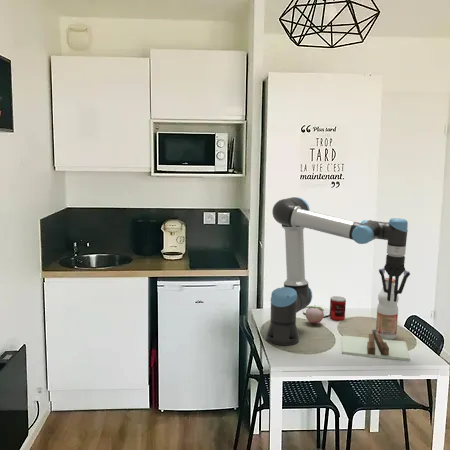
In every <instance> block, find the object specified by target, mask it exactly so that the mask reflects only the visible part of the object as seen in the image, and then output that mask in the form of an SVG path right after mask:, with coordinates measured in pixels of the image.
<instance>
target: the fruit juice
mask: <svg viewBox="0 0 450 450" xmlns="http://www.w3.org/2000/svg"><path fill="white" fill-rule="evenodd" d="M388 282H389V277H385V283H386V289H388ZM394 285H395V278H392V288H391V293H394ZM387 295H388V293H386V292H384V289H383V288H382V289H381V290H380V292H379V294H378V297H377V298H378V299H377V300H378V304H377V308H376V319H375V320H376V321H375V322H376V325H375V330H376V334H380V335H381V338H382V339H384V340H395V339H396V338H397V333H398V332H397V330H398V315H399V306H398V304H399V299H400V297H399V294H397V301H396V302H394V305H393V309H389V302H390V301H388V300H387Z"/></svg>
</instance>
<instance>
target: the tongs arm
mask: <svg viewBox="0 0 450 450" xmlns="http://www.w3.org/2000/svg"><path fill="white" fill-rule="evenodd" d="M375 341H376V344H377V346H378V348H379V350H380V353H381V355H389V347H388V345H387V343H386V342H383V340H382V338H381V335H380V334H375Z"/></svg>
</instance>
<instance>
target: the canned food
mask: <svg viewBox="0 0 450 450" xmlns="http://www.w3.org/2000/svg"><path fill="white" fill-rule="evenodd" d="M329 299H330V301H329V319H330V320H332V321H335V322H343V321H344V320H345V318H346V307H347V306H346V303H347V301H346V300H347V299H346V298H345V297H343V296H338V295H337V296H333V295H332V296H331V297H330V298H329Z"/></svg>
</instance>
